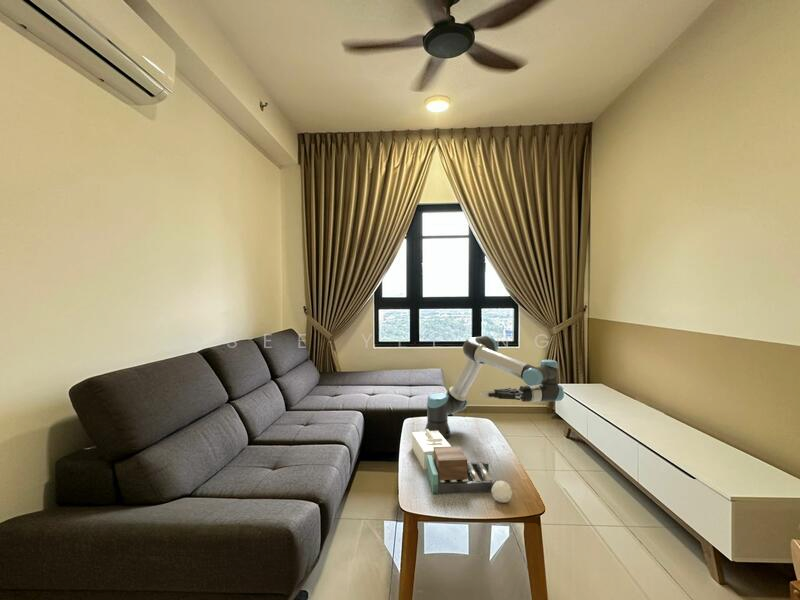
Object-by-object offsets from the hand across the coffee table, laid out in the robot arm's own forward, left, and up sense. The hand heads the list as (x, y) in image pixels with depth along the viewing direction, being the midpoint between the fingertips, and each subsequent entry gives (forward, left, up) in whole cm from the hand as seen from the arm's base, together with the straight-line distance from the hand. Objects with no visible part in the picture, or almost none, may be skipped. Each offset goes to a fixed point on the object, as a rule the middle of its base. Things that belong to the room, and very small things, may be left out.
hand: (481, 394), depth 173 cm
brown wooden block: (+14, -18, -29) cm, 37 cm away
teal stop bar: (+14, -25, -34) cm, 45 cm away
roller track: (+14, -12, -34) cm, 39 cm away
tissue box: (-12, -22, -34) cm, 43 cm away
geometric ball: (+30, 0, -34) cm, 45 cm away
